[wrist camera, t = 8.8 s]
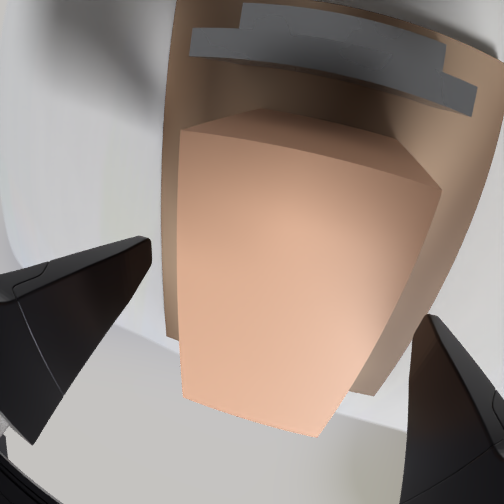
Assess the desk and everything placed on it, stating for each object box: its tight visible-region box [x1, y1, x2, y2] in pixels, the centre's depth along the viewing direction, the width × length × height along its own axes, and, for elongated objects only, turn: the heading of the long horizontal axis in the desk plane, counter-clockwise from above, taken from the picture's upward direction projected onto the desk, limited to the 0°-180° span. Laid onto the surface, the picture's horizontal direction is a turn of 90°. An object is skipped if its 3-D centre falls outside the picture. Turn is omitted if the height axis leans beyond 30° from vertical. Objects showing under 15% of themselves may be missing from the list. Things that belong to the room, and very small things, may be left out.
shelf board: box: [161, 0, 504, 396], centre depth 13 cm, size 13×18×1 cm
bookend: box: [189, 3, 478, 117], centre depth 7 cm, size 7×2×4 cm, turn 82°
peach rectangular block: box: [177, 108, 443, 438], centre depth 10 cm, size 5×9×6 cm, turn 173°
